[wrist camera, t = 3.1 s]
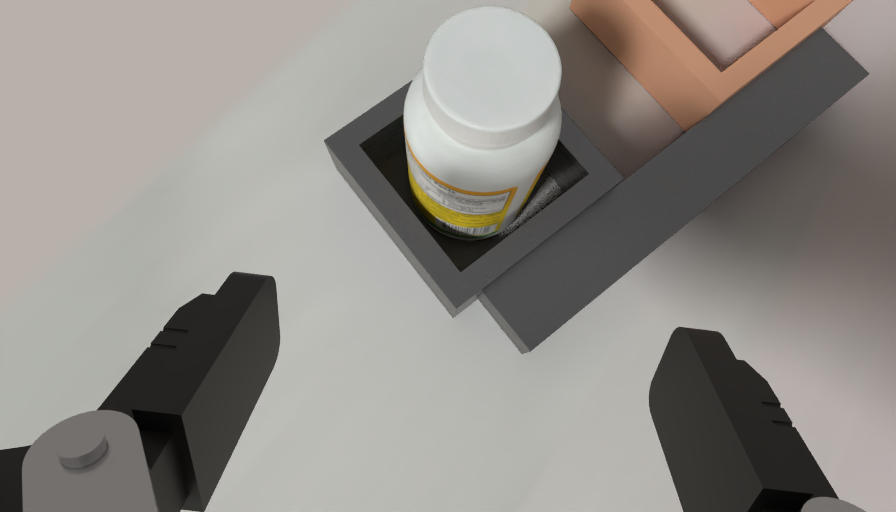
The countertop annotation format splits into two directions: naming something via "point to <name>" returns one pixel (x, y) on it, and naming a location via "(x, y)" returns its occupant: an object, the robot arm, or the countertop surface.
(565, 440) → the countertop surface
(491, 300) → the rail
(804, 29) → the marked socket
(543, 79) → the supplement bottle
